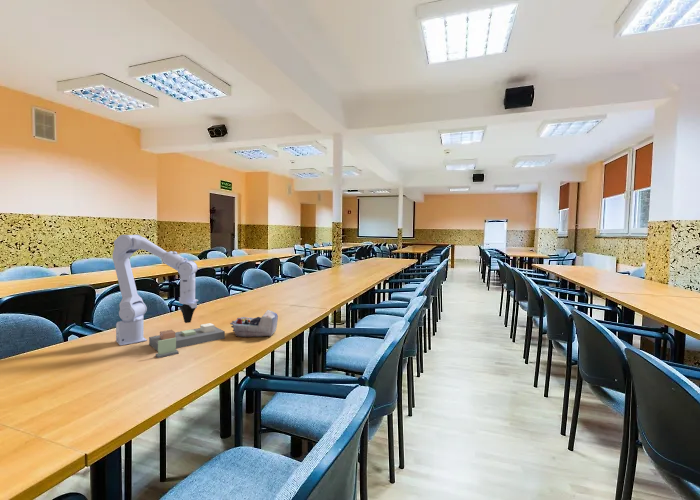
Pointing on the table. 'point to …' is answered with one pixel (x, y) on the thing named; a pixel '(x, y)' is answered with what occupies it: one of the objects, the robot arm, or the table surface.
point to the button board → (190, 338)
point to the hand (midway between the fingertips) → (187, 322)
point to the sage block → (188, 333)
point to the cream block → (207, 328)
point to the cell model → (256, 325)
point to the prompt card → (166, 348)
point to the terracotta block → (167, 334)
